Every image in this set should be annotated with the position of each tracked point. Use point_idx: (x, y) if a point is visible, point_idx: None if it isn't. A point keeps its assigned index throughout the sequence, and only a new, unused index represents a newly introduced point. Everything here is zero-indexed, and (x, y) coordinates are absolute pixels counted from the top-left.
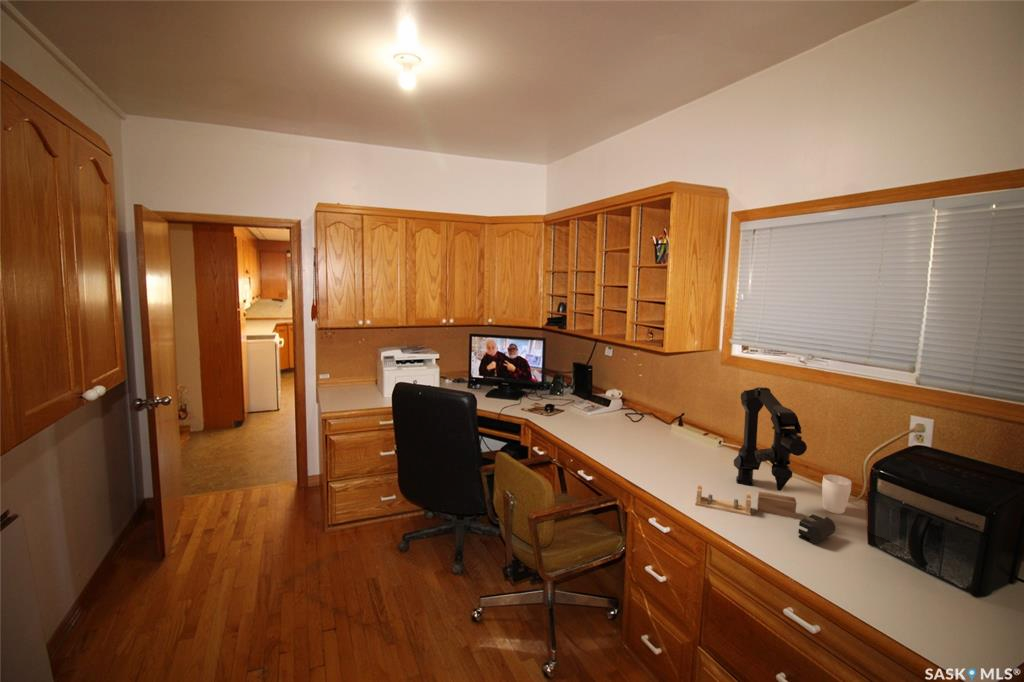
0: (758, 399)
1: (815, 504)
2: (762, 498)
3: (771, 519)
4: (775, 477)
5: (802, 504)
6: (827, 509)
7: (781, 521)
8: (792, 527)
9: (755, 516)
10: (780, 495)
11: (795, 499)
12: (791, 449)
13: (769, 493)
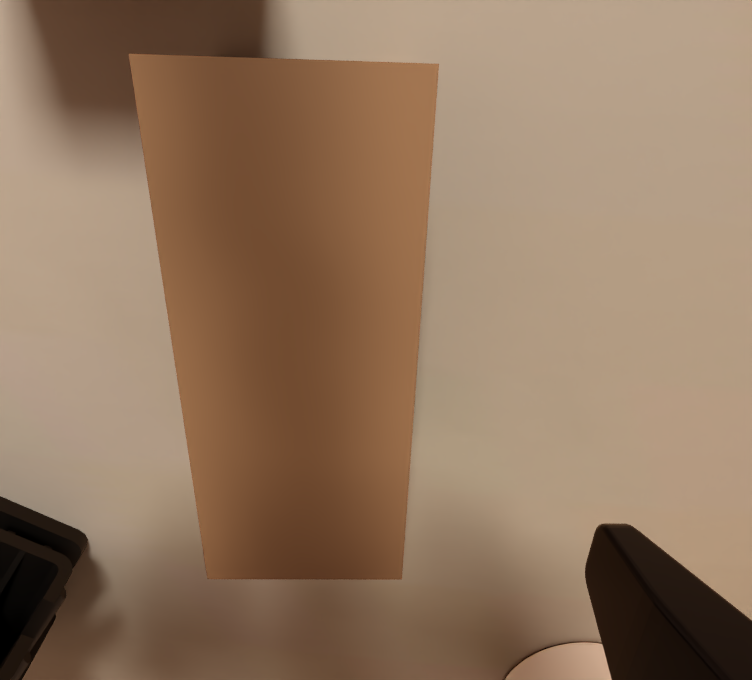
0: None
1: None
2: (151, 124)
3: (74, 218)
4: (637, 582)
5: (605, 523)
6: (531, 666)
7: (95, 319)
8: (24, 404)
9: (23, 8)
10: (394, 428)
11: (341, 578)
12: None
13: (403, 272)
